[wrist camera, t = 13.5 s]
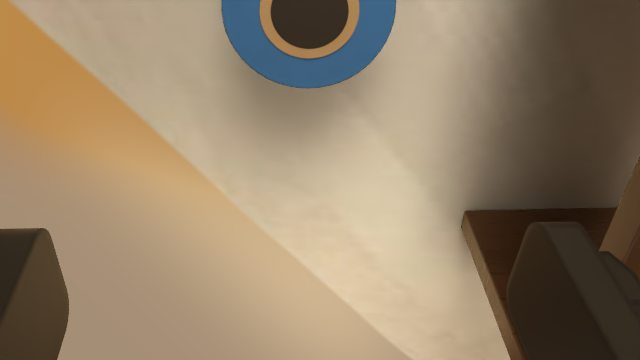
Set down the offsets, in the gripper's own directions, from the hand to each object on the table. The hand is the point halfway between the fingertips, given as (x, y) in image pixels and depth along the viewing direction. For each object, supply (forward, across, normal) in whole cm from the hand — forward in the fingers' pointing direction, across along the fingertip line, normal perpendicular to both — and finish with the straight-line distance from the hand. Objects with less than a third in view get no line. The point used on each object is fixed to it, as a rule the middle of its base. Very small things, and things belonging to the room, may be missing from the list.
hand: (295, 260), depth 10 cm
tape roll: (+16, -1, 0) cm, 16 cm away
